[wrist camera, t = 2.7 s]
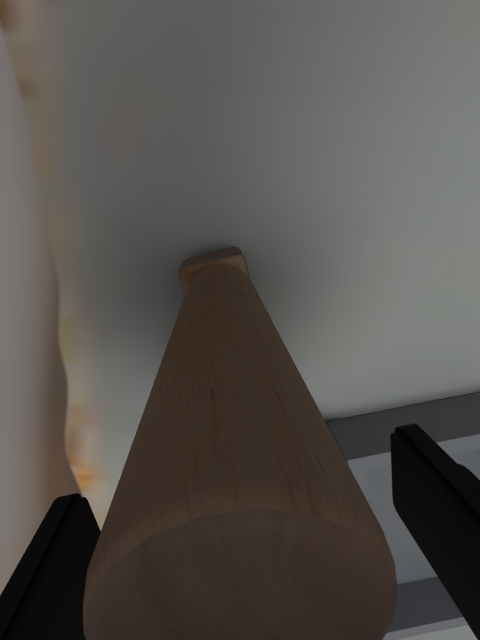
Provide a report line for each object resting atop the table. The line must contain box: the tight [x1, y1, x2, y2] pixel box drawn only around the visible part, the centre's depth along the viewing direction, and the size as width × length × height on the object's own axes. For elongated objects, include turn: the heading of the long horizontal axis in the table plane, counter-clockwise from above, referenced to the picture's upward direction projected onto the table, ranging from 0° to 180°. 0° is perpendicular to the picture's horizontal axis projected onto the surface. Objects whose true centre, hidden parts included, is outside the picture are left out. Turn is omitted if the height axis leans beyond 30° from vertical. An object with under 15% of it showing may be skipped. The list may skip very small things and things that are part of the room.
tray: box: [327, 392, 480, 640], centre depth 26 cm, size 20×14×4 cm
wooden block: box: [83, 247, 398, 640], centre depth 13 cm, size 4×11×18 cm, turn 14°
